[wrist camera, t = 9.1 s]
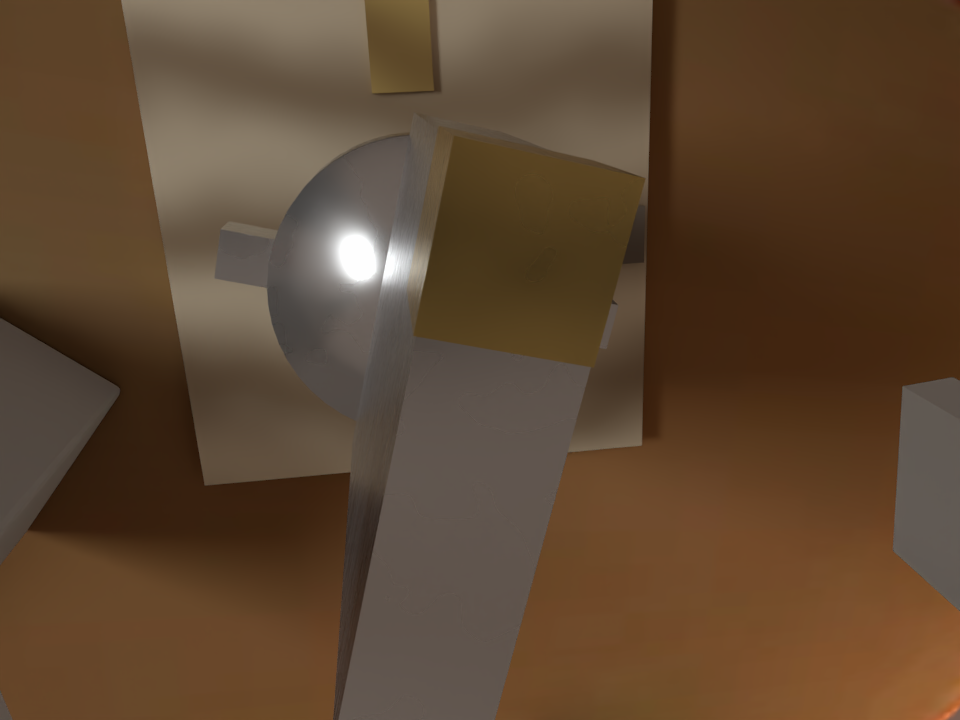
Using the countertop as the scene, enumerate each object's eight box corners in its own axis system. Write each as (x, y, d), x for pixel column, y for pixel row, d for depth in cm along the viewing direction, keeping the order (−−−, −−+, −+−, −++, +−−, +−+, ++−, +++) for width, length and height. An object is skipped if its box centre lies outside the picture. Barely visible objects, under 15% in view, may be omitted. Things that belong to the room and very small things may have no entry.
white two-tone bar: (208, 394, 29) (22, 734, 14) (249, 70, 26) (65, 48, 10) (562, 449, 31) (735, 790, 16) (640, 159, 28) (948, 245, 13)
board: (130, -2, 31) (118, -6, 29) (643, -20, 33) (655, -24, 31) (209, 473, 37) (203, 488, 36) (634, 435, 39) (643, 448, 38)
